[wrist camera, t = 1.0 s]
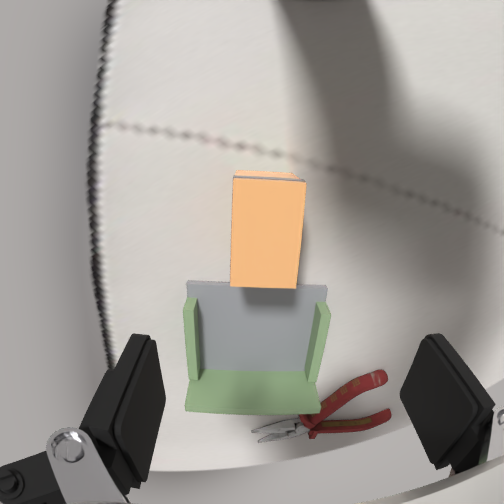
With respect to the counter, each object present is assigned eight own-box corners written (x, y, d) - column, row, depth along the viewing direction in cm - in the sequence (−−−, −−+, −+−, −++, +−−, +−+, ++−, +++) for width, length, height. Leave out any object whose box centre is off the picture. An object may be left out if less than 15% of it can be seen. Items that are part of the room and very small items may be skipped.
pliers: (239, 408, 38) (239, 423, 36) (383, 363, 36) (390, 375, 34) (266, 448, 42) (267, 461, 40) (388, 410, 40) (393, 422, 37)
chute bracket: (188, 280, 31) (174, 316, 24) (325, 285, 31) (343, 320, 25) (193, 369, 35) (185, 411, 28) (309, 372, 35) (319, 413, 29)
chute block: (235, 169, 27) (232, 178, 21) (292, 172, 27) (307, 182, 21) (232, 254, 30) (229, 286, 23) (285, 256, 30) (296, 289, 24)
